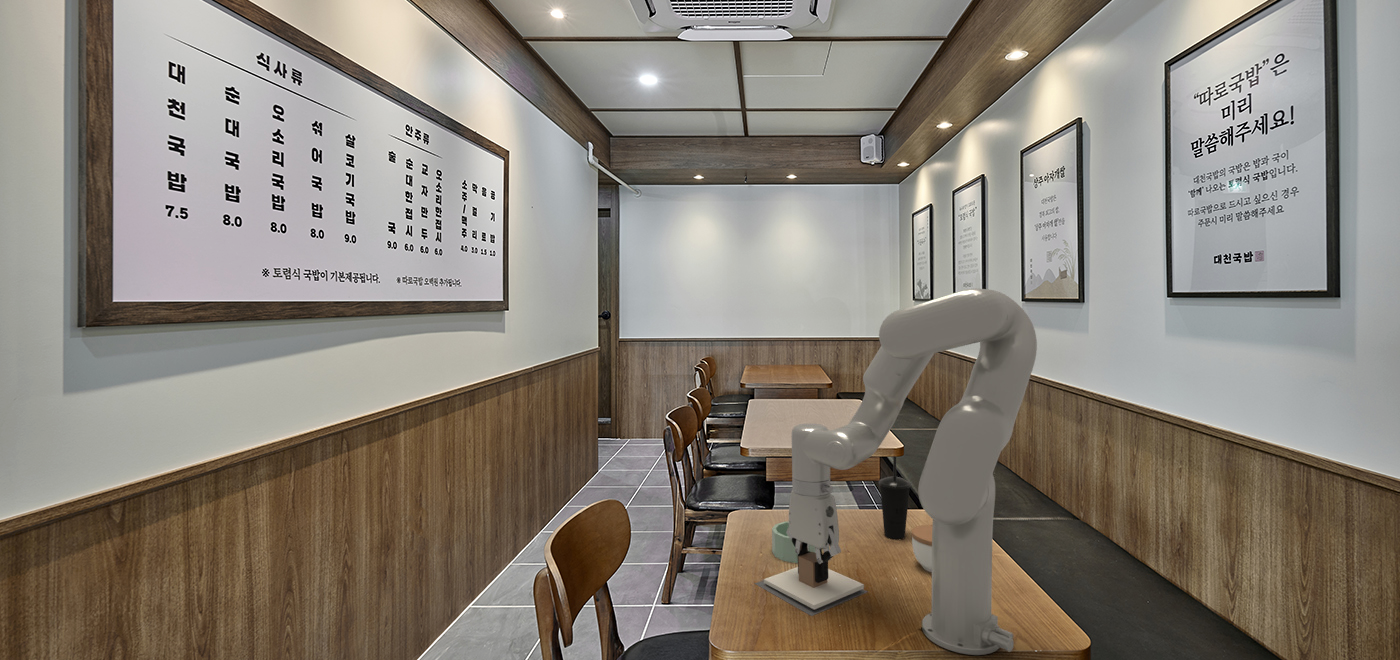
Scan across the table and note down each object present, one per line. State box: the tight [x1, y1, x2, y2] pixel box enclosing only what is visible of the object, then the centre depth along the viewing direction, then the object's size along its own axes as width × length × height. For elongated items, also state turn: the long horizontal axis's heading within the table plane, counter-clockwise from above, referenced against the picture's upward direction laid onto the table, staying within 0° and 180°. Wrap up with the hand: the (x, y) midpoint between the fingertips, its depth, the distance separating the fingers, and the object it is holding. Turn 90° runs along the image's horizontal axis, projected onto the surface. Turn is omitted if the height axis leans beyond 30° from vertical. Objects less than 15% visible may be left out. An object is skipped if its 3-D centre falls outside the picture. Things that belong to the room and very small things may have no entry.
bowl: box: [771, 520, 816, 564], centre depth 136 cm, size 11×11×6 cm
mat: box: [754, 579, 869, 617], centre depth 119 cm, size 16×16×1 cm
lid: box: [763, 552, 865, 610], centre depth 119 cm, size 14×14×6 cm
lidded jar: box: [911, 524, 932, 574], centre depth 129 cm, size 11×11×9 cm
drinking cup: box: [878, 456, 912, 541], centre depth 147 cm, size 8×8×20 cm
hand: (813, 575), depth 119 cm, fingers closed on lid, 4 cm apart
